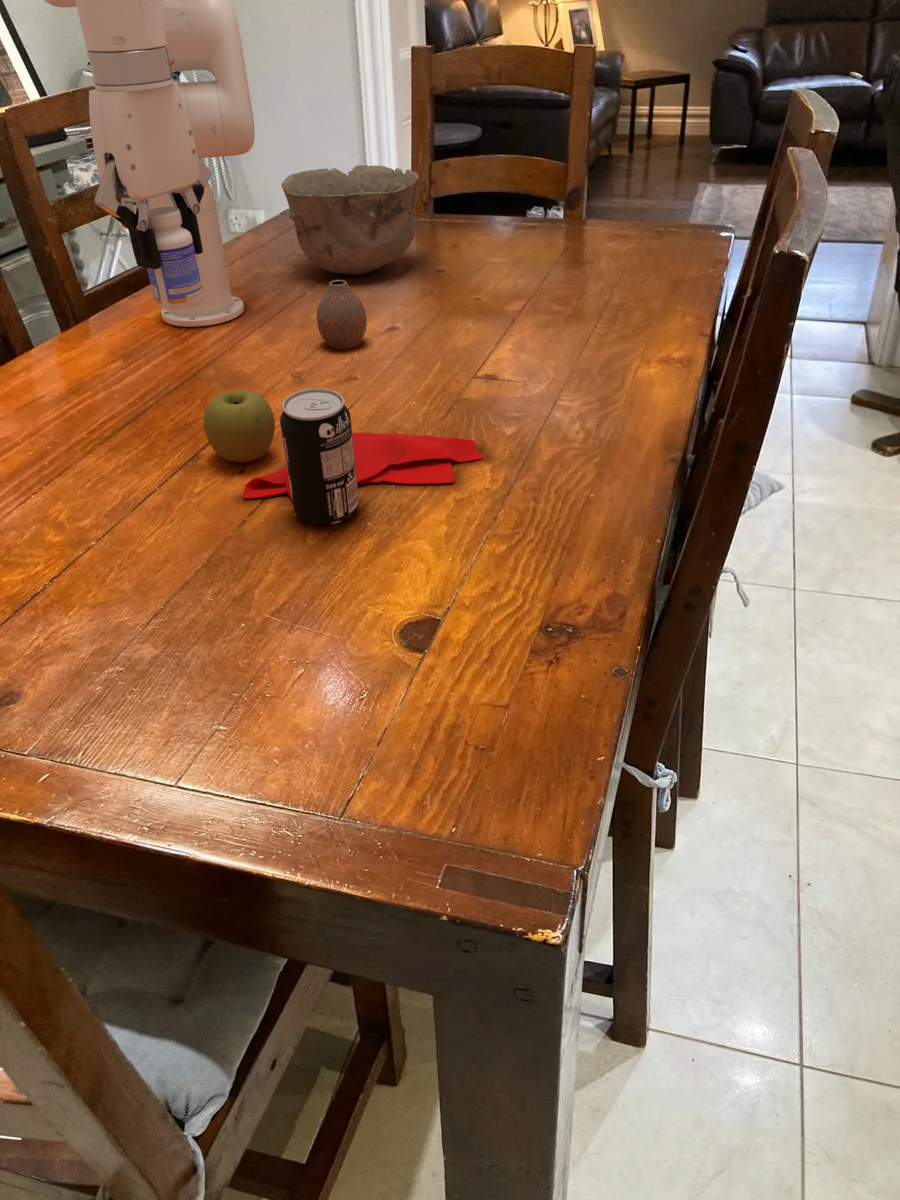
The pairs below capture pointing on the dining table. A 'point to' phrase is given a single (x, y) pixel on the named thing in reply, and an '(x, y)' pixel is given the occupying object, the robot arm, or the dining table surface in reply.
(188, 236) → the pill bottle
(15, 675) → the dining table surface
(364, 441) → the cloth
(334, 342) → the vase
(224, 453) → the apple
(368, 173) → the bowl
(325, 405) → the beverage can
